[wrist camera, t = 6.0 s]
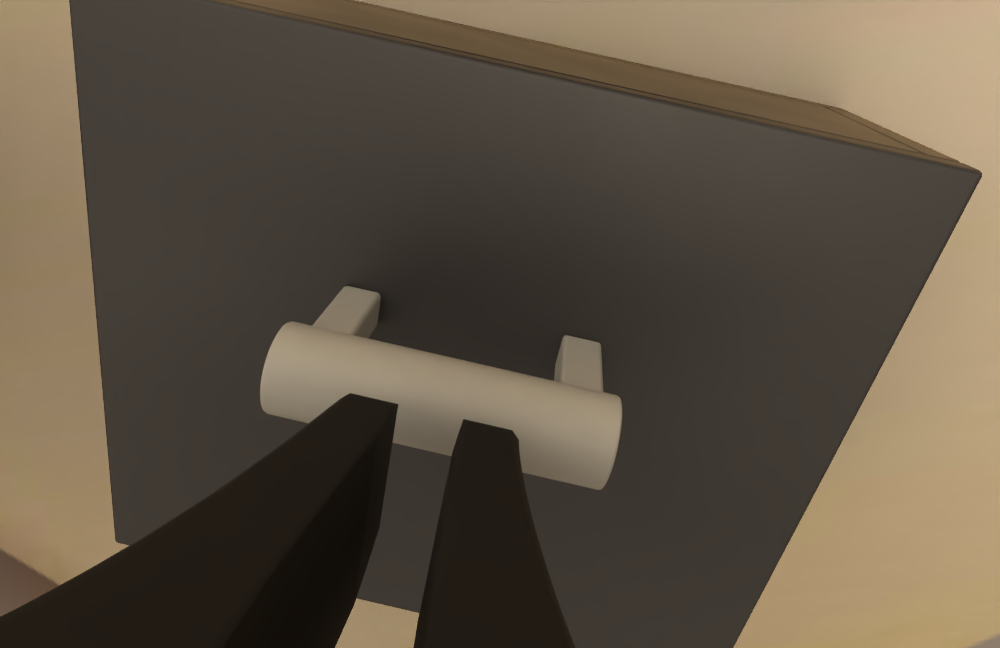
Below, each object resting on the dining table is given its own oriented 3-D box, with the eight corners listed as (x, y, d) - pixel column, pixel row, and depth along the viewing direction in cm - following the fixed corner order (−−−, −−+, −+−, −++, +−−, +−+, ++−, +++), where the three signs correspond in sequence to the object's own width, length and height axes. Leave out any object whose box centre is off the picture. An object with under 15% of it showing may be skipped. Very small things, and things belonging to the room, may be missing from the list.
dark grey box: (689, 480, 21) (722, 635, 16) (238, 377, 21) (129, 498, 16) (842, 109, 16) (964, 163, 11) (247, -24, 16) (91, -32, 11)
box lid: (711, 660, 16) (745, 839, 13) (129, 525, 16) (9, 666, 13) (966, 163, 11) (1146, 243, 7) (89, -32, 11) (-135, -43, 7)
